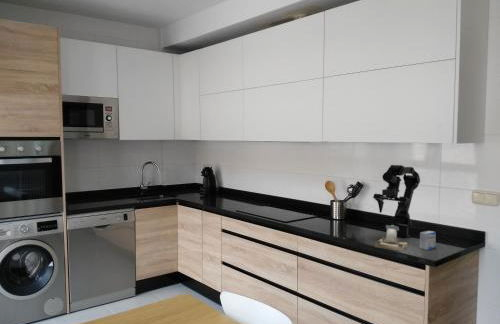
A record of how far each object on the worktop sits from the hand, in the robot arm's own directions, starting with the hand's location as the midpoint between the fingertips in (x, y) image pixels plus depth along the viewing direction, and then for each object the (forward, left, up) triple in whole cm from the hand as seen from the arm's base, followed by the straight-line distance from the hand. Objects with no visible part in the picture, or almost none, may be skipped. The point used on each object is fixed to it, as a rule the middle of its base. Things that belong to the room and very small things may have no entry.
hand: (388, 213), depth 212 cm
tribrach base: (+5, +6, -16) cm, 18 cm away
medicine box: (-8, +18, -16) cm, 26 cm away
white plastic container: (+7, +6, -13) cm, 16 cm away
